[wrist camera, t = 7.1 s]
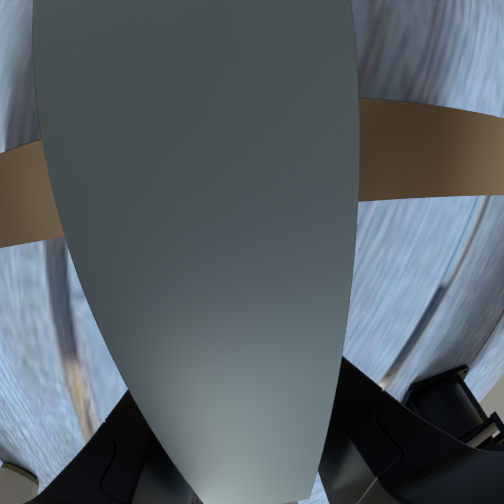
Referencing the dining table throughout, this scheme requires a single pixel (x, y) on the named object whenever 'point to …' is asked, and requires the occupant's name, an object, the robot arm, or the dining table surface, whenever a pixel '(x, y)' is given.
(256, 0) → the slate-blue slotted crosspiece
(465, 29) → the dining table surface
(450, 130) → the walnut slotted plate
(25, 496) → the bottle
